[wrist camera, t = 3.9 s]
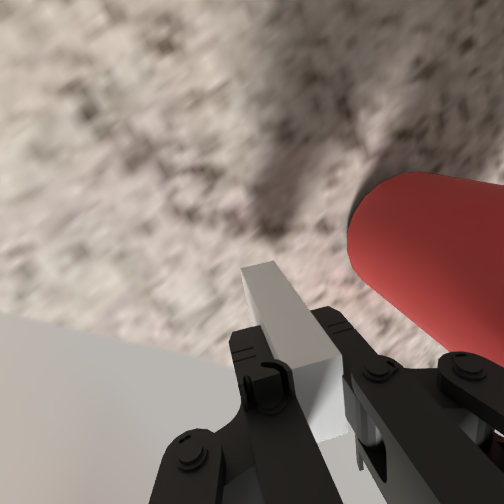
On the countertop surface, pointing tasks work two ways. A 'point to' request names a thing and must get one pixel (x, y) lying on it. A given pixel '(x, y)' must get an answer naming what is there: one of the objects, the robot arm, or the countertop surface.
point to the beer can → (436, 256)
